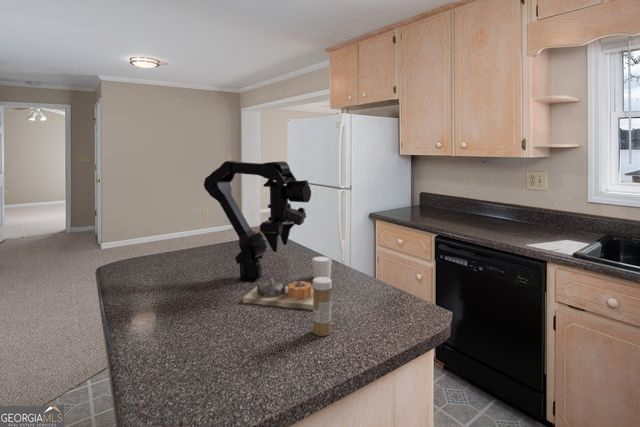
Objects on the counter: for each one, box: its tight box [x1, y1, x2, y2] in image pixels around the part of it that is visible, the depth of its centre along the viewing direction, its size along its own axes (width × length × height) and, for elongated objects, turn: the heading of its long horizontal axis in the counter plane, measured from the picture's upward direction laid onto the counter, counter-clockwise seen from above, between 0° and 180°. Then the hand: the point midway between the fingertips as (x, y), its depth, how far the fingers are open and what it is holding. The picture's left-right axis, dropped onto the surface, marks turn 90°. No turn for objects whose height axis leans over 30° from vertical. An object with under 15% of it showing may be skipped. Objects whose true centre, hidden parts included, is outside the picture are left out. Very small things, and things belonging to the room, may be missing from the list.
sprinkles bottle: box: [312, 277, 333, 337], centre depth 91 cm, size 5×5×13 cm
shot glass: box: [311, 255, 333, 279], centre depth 130 cm, size 7×7×7 cm
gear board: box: [242, 278, 313, 311], centre depth 113 cm, size 22×12×6 cm, turn 75°
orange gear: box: [287, 280, 313, 300], centre depth 112 cm, size 7×7×3 cm
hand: (280, 248), depth 124 cm, fingers open, 9 cm apart
